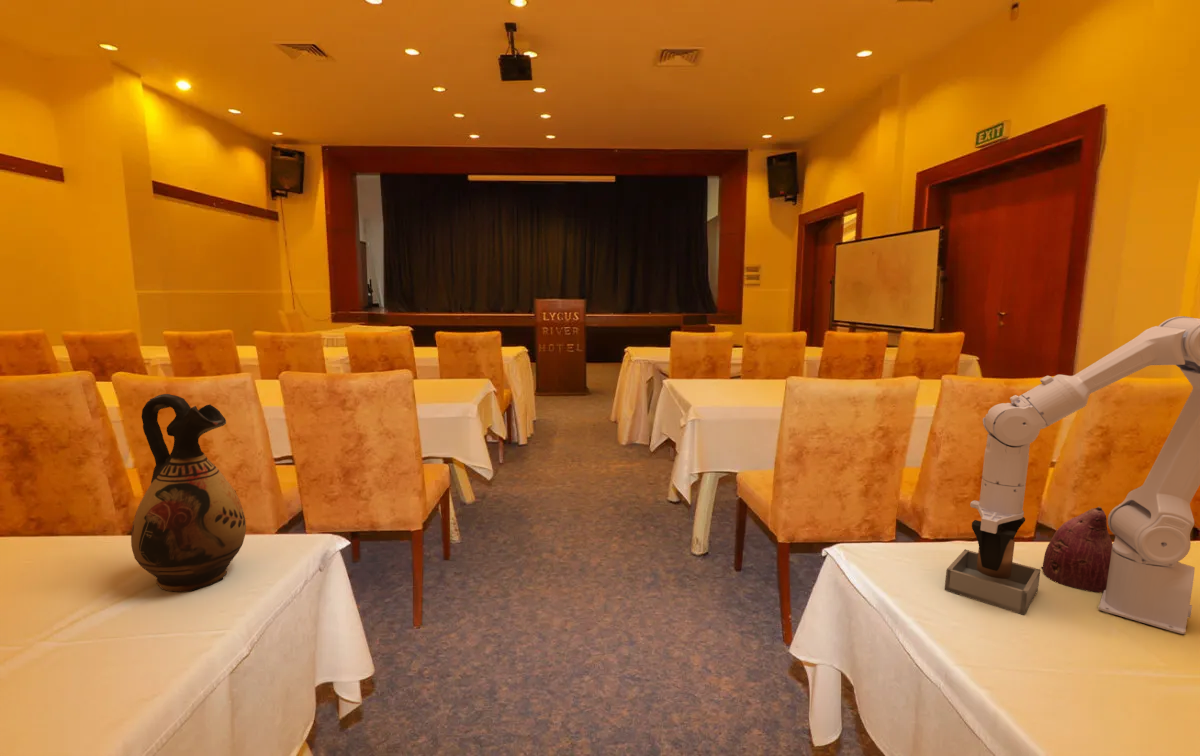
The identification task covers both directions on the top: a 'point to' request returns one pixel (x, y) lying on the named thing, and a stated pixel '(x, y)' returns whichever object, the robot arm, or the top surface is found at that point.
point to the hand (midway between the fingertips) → (994, 563)
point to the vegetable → (1080, 552)
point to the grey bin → (993, 583)
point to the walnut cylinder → (1005, 565)
